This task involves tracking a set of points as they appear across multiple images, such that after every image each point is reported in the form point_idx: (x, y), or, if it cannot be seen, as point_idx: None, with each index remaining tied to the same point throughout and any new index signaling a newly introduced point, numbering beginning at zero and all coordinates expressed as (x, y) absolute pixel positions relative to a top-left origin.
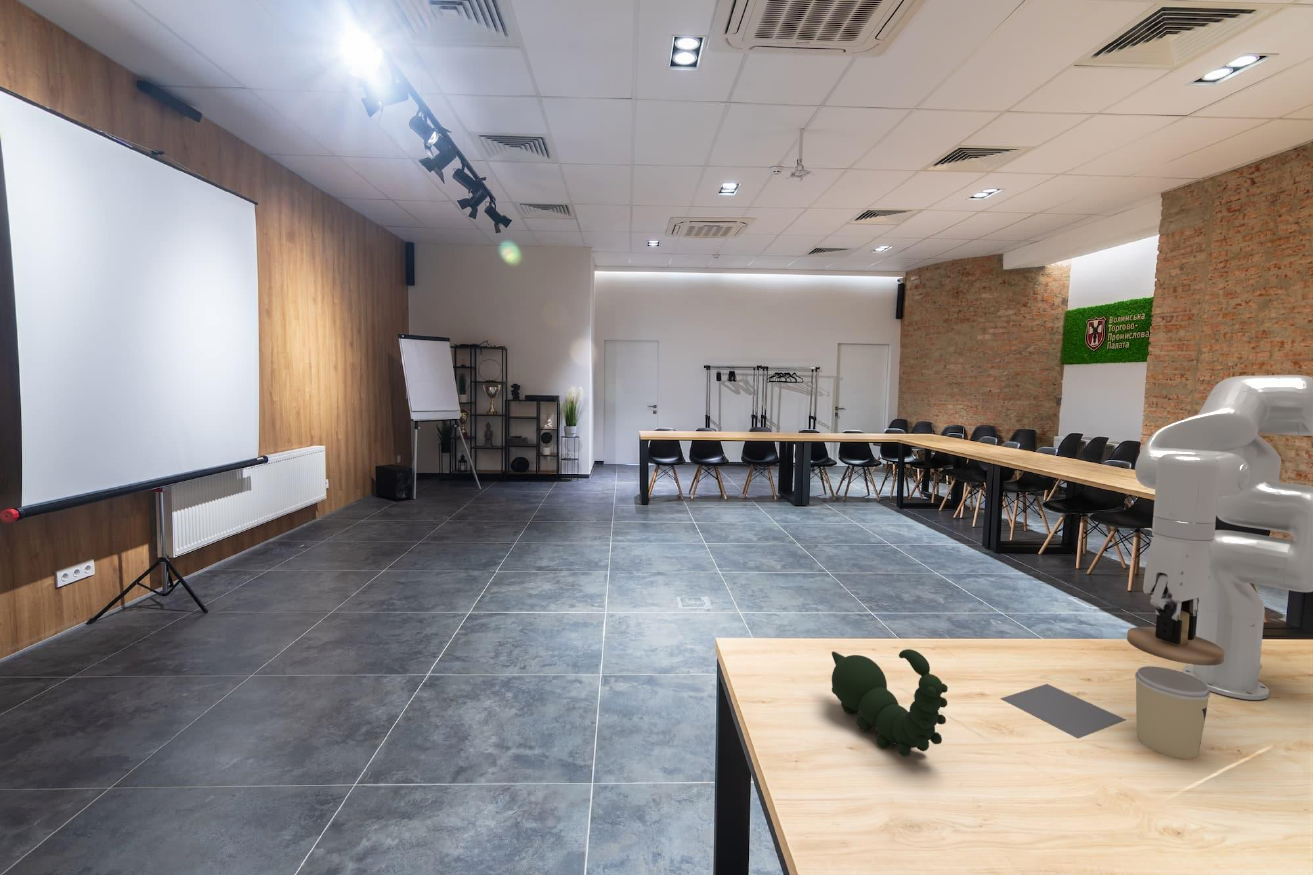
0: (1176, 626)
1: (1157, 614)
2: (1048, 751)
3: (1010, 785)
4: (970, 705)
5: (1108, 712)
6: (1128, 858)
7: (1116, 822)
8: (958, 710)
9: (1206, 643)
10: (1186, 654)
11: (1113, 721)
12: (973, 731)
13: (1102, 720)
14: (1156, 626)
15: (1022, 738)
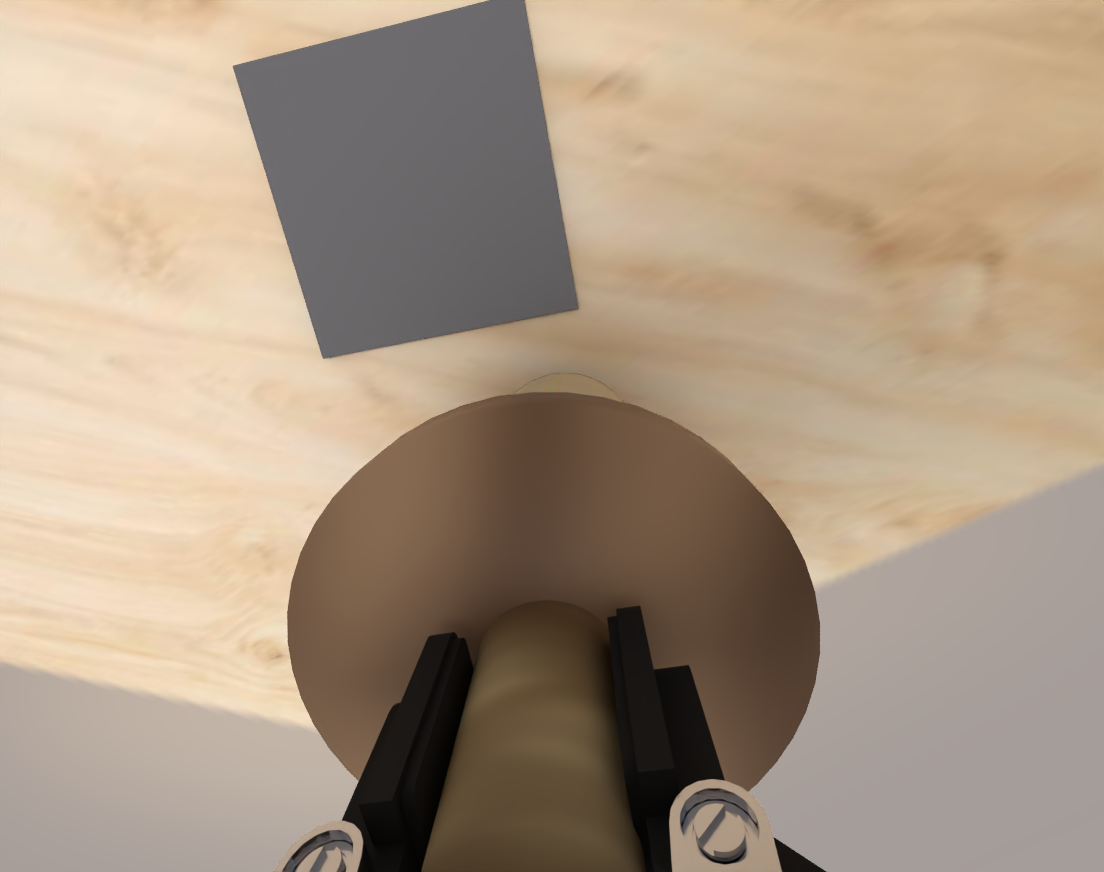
0: None
1: (304, 852)
2: (204, 376)
3: (11, 467)
4: (108, 72)
5: (562, 255)
6: (123, 676)
7: (174, 609)
8: (44, 96)
9: (739, 729)
10: None
11: (522, 308)
12: (34, 233)
13: (490, 294)
14: (406, 696)
15: (170, 303)
